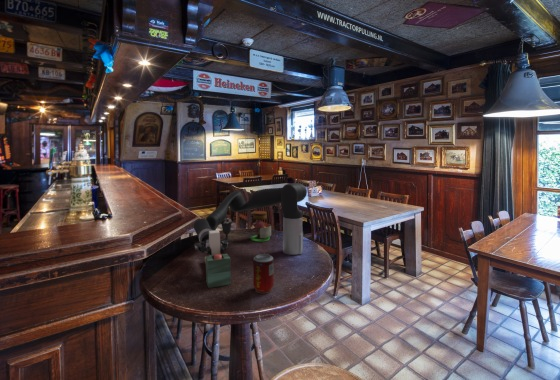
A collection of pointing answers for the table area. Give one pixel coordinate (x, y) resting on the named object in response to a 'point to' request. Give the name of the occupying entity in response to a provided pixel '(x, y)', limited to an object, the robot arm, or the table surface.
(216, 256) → the red rounded capsule
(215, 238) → the carriage
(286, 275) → the table surface
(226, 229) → the sundae
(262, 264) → the soda can
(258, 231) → the toy burger
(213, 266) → the rail
